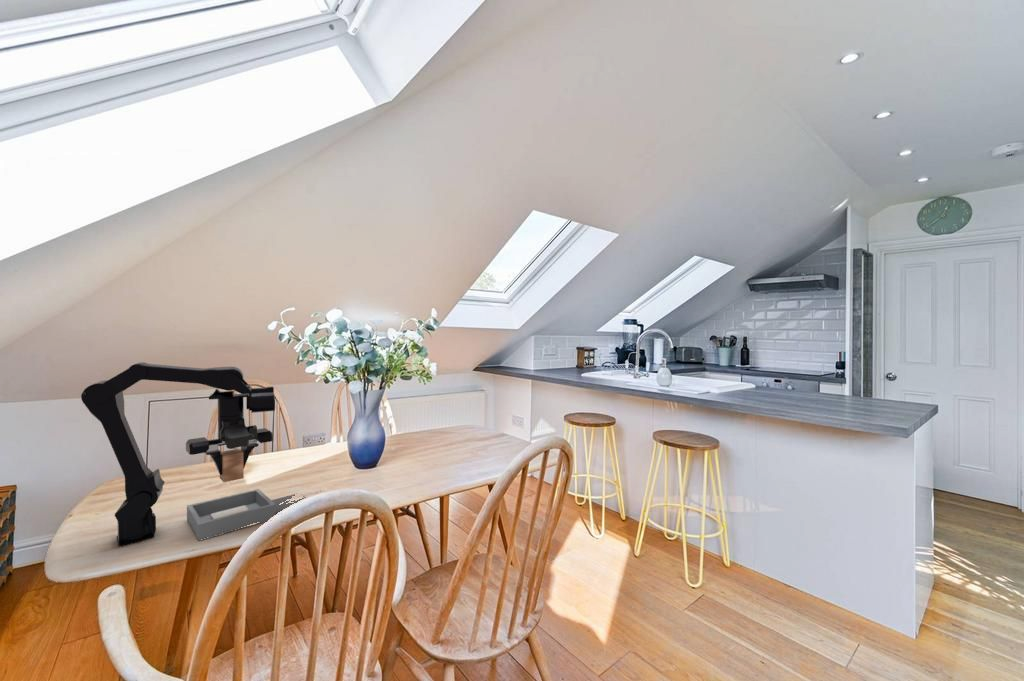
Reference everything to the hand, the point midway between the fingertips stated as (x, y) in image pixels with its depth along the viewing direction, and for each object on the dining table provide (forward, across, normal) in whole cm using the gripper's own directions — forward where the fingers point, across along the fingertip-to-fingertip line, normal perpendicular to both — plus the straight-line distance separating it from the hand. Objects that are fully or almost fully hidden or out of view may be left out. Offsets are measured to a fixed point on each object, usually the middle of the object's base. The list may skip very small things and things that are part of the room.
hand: (231, 472), depth 114 cm
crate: (+13, 0, 0) cm, 13 cm away
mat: (+13, +14, 0) cm, 19 cm away
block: (+2, 0, 0) cm, 2 cm away
